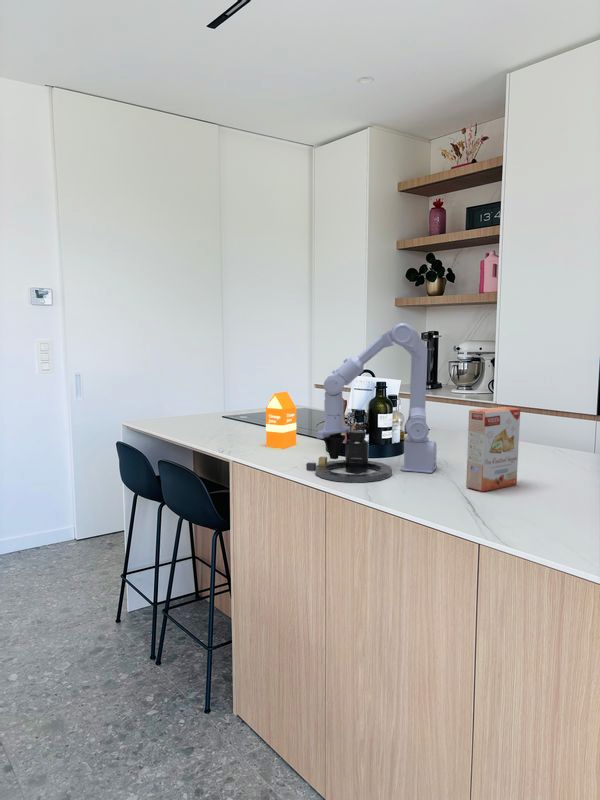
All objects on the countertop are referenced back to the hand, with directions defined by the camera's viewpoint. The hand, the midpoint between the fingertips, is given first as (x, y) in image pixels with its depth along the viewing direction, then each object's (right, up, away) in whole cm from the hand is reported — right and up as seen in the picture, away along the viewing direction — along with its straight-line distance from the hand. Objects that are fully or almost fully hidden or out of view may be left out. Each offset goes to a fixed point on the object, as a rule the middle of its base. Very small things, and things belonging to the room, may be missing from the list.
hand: (334, 458), depth 178 cm
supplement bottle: (+7, -4, -4) cm, 9 cm away
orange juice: (-17, +1, +37) cm, 41 cm away
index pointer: (-7, -3, -2) cm, 8 cm away
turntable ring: (+5, -4, -7) cm, 10 cm away
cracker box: (+41, -5, -23) cm, 47 cm away
